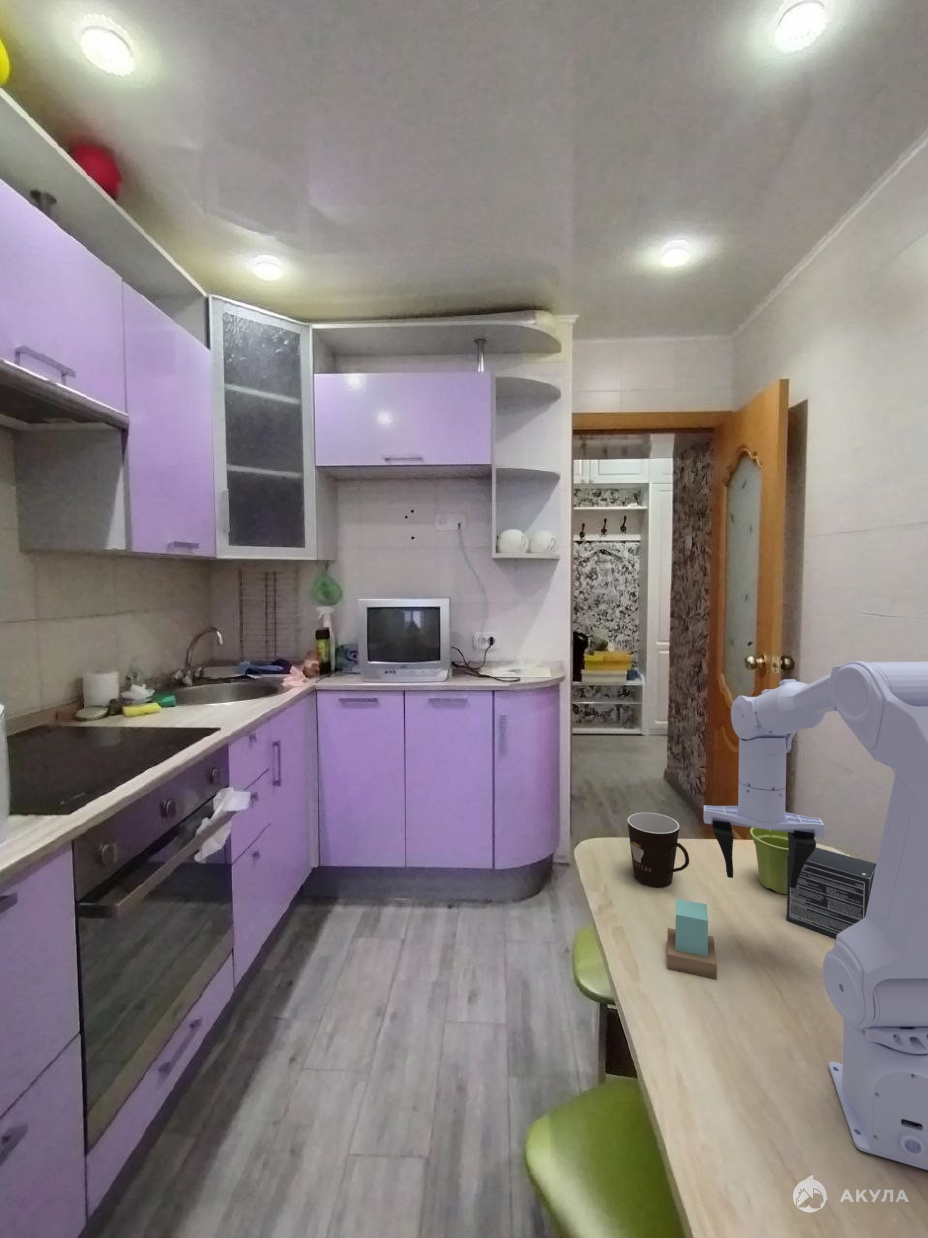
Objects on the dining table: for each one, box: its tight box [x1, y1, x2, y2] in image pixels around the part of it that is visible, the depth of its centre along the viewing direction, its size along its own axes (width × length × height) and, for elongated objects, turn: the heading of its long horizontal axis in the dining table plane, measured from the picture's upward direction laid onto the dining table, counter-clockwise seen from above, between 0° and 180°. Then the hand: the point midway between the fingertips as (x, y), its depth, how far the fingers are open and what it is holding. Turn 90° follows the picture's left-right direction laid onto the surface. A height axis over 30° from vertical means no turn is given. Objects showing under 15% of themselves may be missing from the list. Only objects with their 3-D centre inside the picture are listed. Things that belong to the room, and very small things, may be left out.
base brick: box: [667, 927, 718, 980], centre depth 75 cm, size 6×6×2 cm
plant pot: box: [749, 827, 789, 895], centre depth 92 cm, size 9×9×9 cm
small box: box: [785, 846, 877, 940], centre depth 81 cm, size 11×6×10 cm, turn 45°
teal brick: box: [675, 898, 709, 957], centre depth 75 cm, size 4×4×5 cm
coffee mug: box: [627, 811, 690, 889], centre depth 94 cm, size 12×9×10 cm
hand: (760, 879), depth 76 cm, fingers open, 7 cm apart
